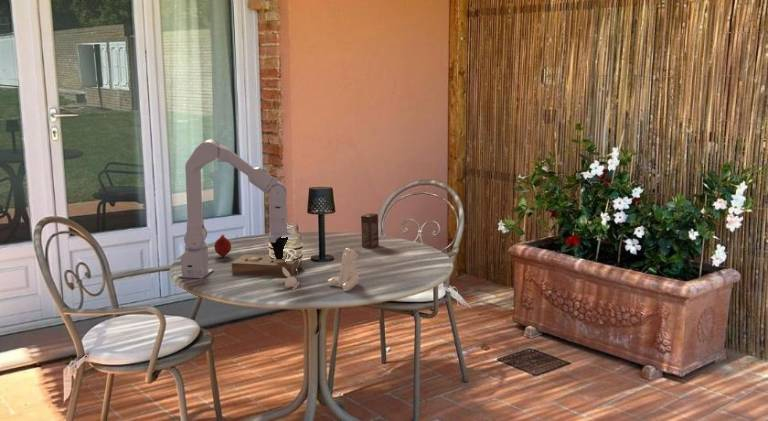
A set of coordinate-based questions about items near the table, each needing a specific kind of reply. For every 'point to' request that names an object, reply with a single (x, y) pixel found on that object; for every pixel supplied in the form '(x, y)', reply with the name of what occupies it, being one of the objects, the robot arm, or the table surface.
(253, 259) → the peg
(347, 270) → the white creature statuette
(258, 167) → the robot arm
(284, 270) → the rabbit figurine
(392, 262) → the table surface
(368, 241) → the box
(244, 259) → the walnut block
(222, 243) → the onion
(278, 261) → the peg
